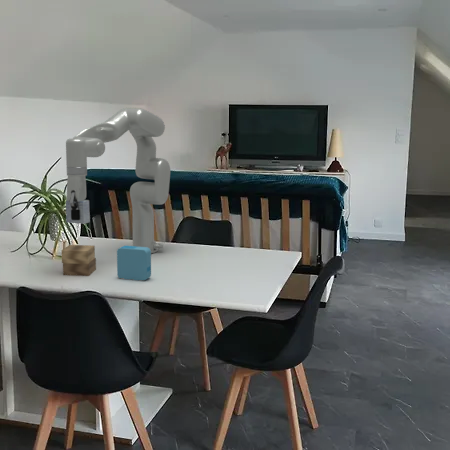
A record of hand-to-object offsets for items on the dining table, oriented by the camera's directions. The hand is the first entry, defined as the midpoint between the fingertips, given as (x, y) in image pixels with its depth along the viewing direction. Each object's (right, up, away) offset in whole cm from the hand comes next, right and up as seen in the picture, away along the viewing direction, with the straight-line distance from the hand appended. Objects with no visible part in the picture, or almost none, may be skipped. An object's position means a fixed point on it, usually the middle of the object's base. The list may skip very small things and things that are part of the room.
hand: (78, 218), depth 229 cm
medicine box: (0, -2, 0) cm, 2 cm away
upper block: (0, -17, +3) cm, 17 cm away
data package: (+22, -23, -4) cm, 32 cm away
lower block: (0, -21, +4) cm, 22 cm away
